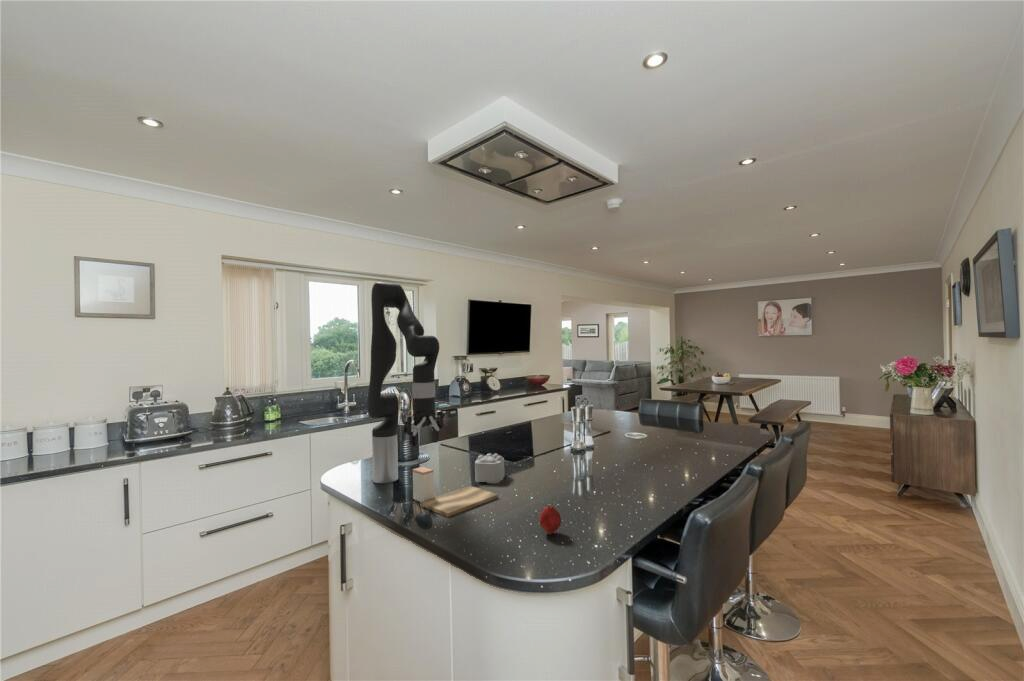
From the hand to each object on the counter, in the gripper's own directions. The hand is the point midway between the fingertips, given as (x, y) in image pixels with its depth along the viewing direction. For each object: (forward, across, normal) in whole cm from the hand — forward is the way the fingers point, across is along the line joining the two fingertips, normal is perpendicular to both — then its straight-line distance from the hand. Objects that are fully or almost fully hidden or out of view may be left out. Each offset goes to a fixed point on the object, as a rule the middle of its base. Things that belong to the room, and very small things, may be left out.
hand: (424, 444), depth 143 cm
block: (+18, 0, 0) cm, 18 cm away
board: (+18, -6, +11) cm, 22 cm away
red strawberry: (+18, -6, +48) cm, 51 cm away
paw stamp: (+19, -31, 0) cm, 36 cm away
